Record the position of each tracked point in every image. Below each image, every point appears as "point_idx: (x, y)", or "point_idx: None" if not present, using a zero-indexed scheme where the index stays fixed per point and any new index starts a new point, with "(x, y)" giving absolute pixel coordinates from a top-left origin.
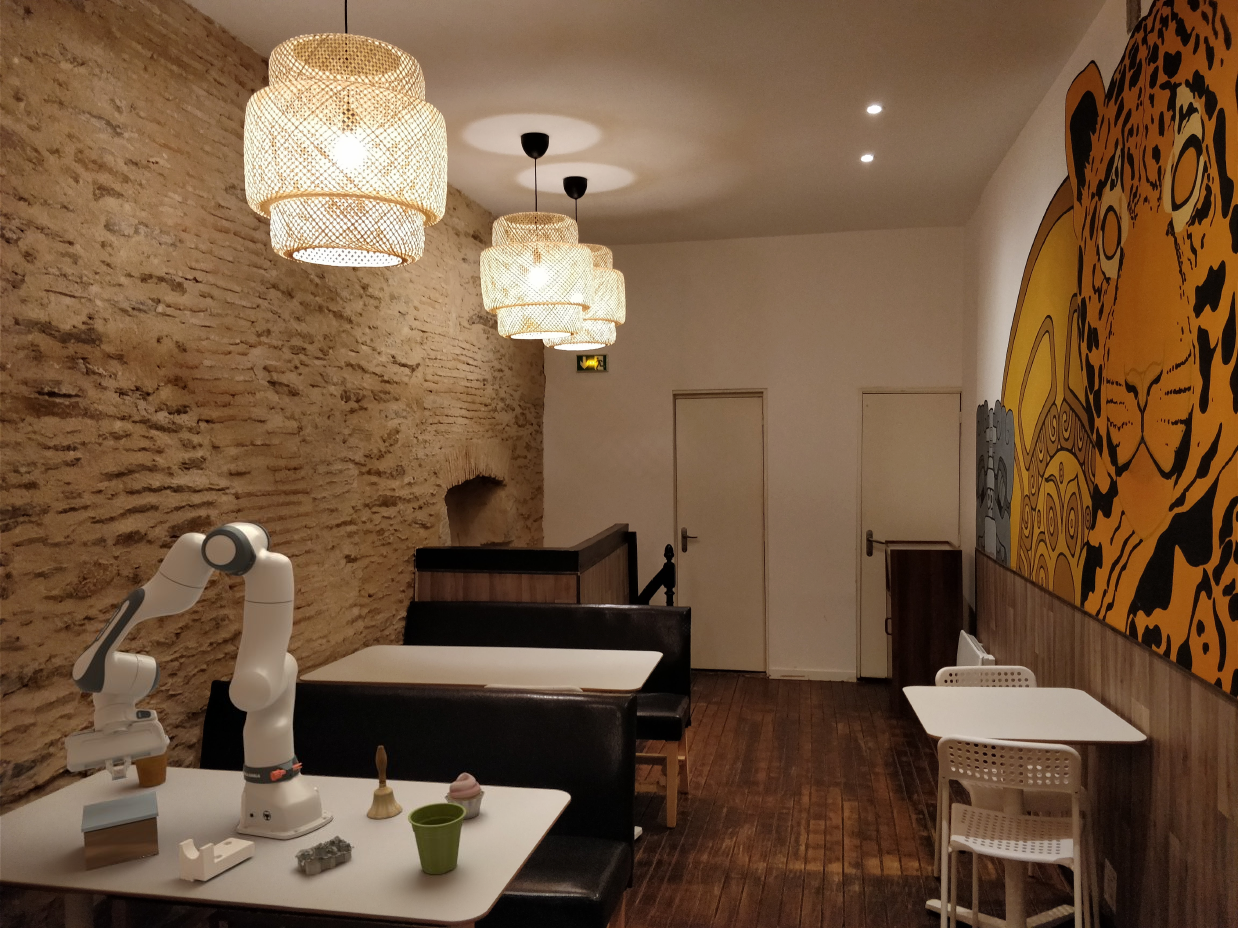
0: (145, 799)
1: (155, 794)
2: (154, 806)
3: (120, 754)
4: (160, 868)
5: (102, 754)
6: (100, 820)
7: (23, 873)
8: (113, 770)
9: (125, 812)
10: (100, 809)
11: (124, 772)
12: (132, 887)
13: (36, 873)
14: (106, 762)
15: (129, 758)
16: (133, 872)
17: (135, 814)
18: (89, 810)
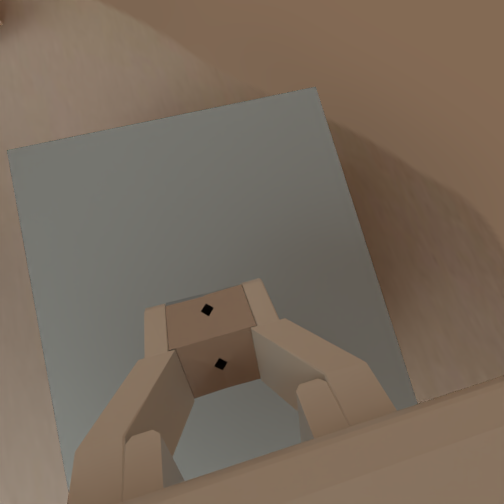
0: (111, 397)
1: (68, 470)
2: (41, 252)
3: (198, 487)
4: (68, 105)
5: (497, 457)
6: (263, 158)
7: (456, 214)
8: (259, 321)
9: (172, 222)
10: (313, 323)
11: (158, 315)
12: (124, 19)
13: (418, 200)
14: (366, 384)
15: (87, 469)
16: (141, 107)
17: (116, 171)
18: (365, 331)
